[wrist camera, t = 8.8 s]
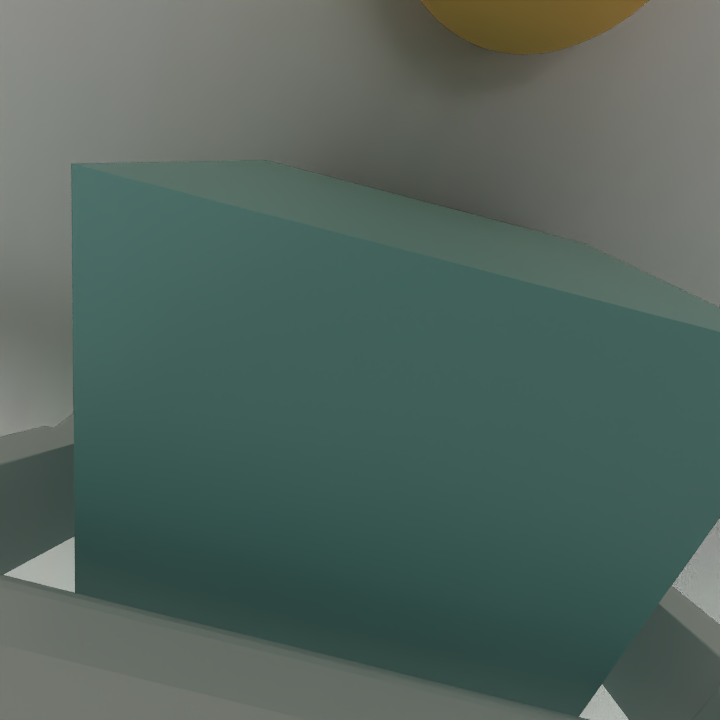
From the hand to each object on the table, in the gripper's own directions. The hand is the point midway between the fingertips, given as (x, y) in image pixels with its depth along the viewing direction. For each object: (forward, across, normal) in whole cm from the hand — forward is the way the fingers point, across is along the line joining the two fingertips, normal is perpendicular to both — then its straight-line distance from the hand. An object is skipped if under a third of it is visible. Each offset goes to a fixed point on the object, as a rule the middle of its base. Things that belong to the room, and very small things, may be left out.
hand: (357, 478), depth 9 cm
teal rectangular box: (+3, 0, 0) cm, 3 cm away
